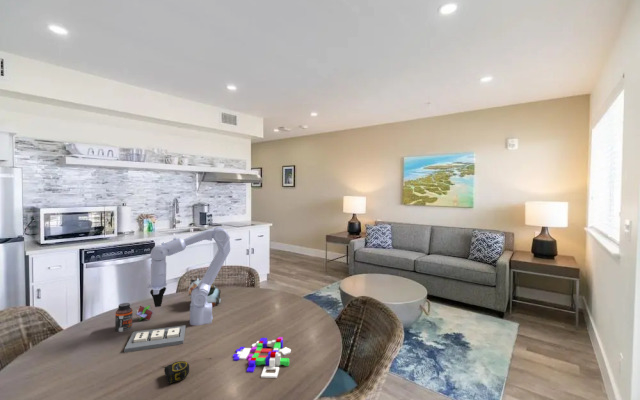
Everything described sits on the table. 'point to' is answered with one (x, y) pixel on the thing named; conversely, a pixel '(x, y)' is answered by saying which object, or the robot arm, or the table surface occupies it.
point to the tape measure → (176, 371)
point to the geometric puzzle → (144, 312)
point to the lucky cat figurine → (212, 295)
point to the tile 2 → (173, 333)
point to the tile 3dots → (141, 337)
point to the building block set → (264, 356)
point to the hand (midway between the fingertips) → (158, 306)
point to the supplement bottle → (123, 317)
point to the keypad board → (155, 343)
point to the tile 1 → (157, 335)
